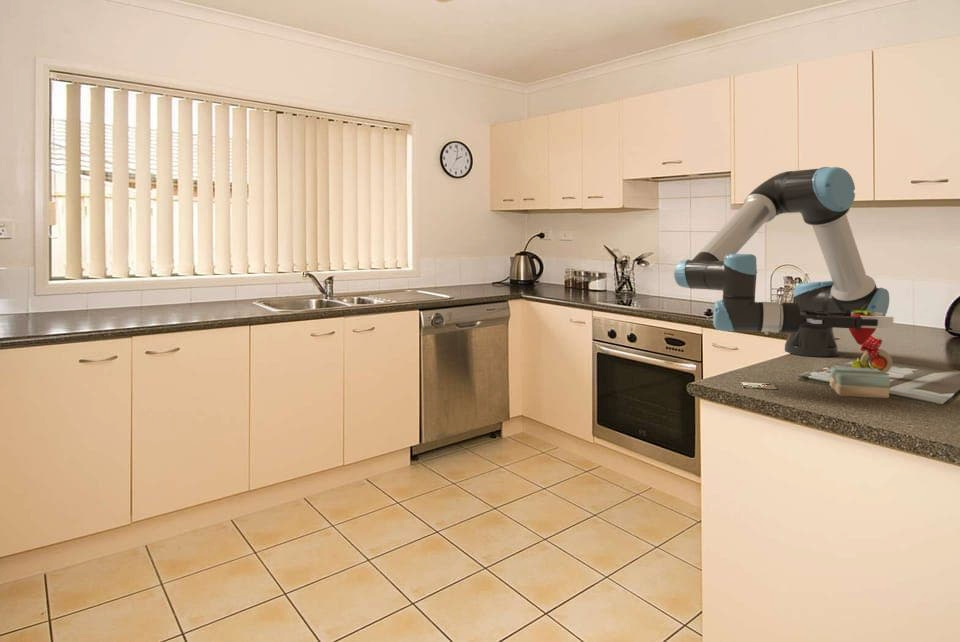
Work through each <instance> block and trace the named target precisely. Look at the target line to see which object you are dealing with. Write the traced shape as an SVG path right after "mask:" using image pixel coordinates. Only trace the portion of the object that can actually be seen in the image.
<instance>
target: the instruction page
mask: <svg viewBox="0 0 960 642" xmlns="http://www.w3.org/2000/svg"><path fill="white" fill-rule="evenodd" d="M741 383H742V384H743V385H748V386H752V387H758V385H760V386H761V387H763V386H764V385H762V384H764V383H760V382H746V381H745V382H740V384H741ZM742 384H741V385H742ZM765 386H767V385H765Z"/></svg>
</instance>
